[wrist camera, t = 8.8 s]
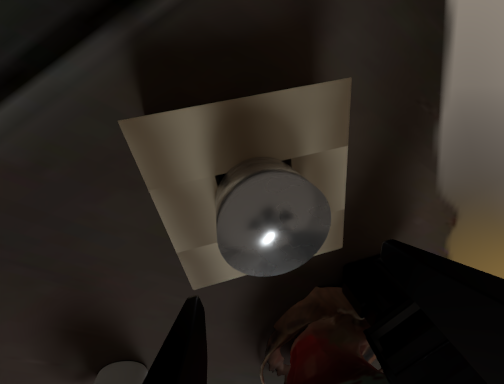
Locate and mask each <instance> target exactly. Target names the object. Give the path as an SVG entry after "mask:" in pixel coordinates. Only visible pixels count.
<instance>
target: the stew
mask: <svg viewBox="0 0 504 384" xmlns="http://www.w3.org/2000/svg"><path fill="white" fill-rule="evenodd" d="M306 326H308V327H307V328H306V329H305V331H303V332H302V333H301V334H300V335H299V336H298V337H297V338H296V339H295V340H294V343H293V345H292V347H291V352H290V355H291V359H290V363H291V365H285V364H283V361H284V359H285V358H283V357H282V356H281V353H280V347H281V346H283V345H284V344H285V343H287V342H289V341H290V340H291V339H292V338H294V336H295V335H296V334H297V333H298V332H299V331H301V330H302V329H304V328H305V327H306ZM273 327H274V328H275V331H274V332H273V333H272V335H271V337H270V338H269V341H268V344H267V349H266V357H265V359H264V361H263V363H262V365H261V368H260V379H261V382H262V383H263V384H264V378H263V369H264V366H265V364H266V361H267V363H268V364H269V371H272V372H273V371H274V369H275V370H276V371H277V375H278V376H280V375H285V382H284V384H390V383H389V382H388V381H387V379H386V377H385V374H384V373H382V371H383V370H382V368H381V369H380V370H377V369H376V368H374V367H373V366H372V365H371V363H372V362H373V361H374V360H375V359H376V356H375V354H374V352H373V351H372V349H371V347H370V345H369V343H368V342H367V340H366V336H365V334H364V332H363V331H364V330H365V329H368V328H369V327H371V326H370V325H369V324H368V322H367V321H366V319H365V318H363V319H362V318H360V317H359V316H358V314H357V313H356V311H355V310H354V308H353V307H352V305H351V304H350V303H349V301H348V300H347V298H346V297H345V295H344V294H343V293H342V288H339V287H324V288H319V287H317V286H316V287H315V288H314V289H313V290H312V291H311V293H310V294H309V295H308V296H307V297H306V298H305V299H303V300H301V301H299V302H298V303H296V304H295V305H294V306H292V307H291V308H290V309H289V310H288V311H286V312H285V313H284V314H283V316H282V317H281V318H280V319H279V321H277V322H276V323H275V325H274V326H273Z"/></svg>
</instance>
